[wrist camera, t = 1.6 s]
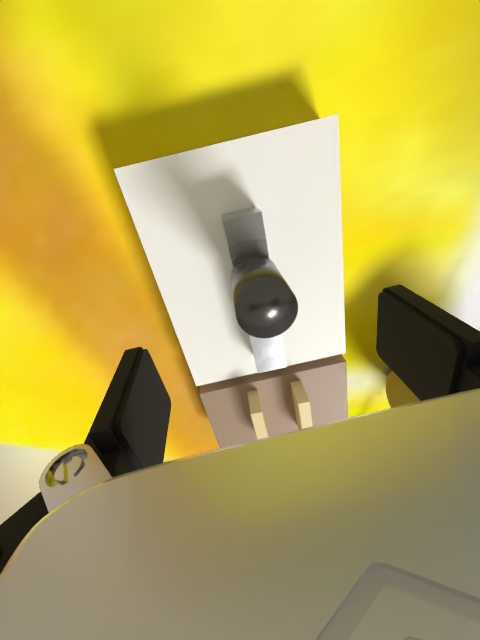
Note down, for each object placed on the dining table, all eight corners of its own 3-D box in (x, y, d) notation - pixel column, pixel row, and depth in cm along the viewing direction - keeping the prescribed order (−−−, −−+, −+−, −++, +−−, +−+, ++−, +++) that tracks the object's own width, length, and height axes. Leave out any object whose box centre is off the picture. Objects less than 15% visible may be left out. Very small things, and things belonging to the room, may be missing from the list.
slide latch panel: (321, 121, 19) (359, 104, 14) (336, 399, 32) (360, 442, 27) (126, 169, 20) (96, 169, 15) (219, 425, 33) (220, 473, 28)
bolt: (262, 205, 19) (288, 224, 12) (285, 348, 24) (311, 413, 18) (215, 216, 19) (216, 240, 12) (249, 356, 25) (262, 424, 18)
